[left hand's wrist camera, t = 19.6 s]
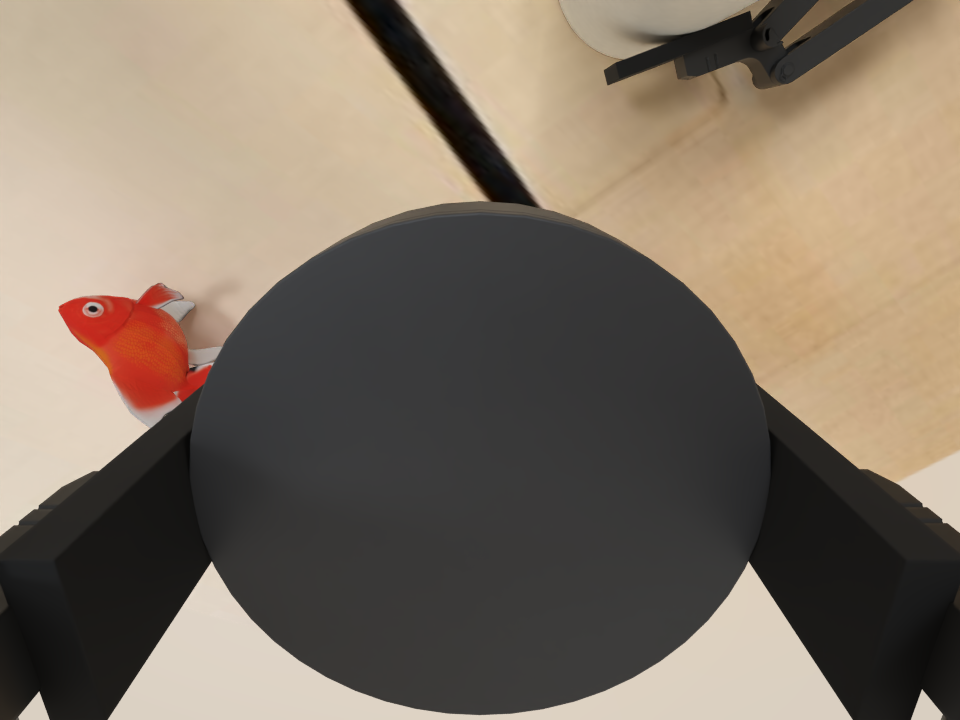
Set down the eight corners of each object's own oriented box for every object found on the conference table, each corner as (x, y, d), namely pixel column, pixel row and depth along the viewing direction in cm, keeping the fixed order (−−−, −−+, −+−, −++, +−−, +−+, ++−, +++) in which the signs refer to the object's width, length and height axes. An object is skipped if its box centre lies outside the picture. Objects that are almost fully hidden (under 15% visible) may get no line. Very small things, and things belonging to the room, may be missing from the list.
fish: (184, 203, 32) (97, 337, 26) (356, 359, 43) (323, 481, 36) (77, 263, 37) (-18, 388, 31) (257, 390, 47) (212, 503, 41)
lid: (480, 70, 10) (480, 48, 8) (821, 451, 12) (887, 508, 10) (139, 450, 12) (72, 507, 10) (479, 699, 15) (479, 785, 13)
